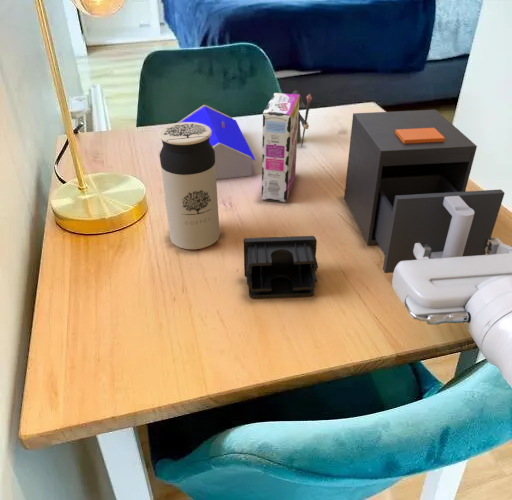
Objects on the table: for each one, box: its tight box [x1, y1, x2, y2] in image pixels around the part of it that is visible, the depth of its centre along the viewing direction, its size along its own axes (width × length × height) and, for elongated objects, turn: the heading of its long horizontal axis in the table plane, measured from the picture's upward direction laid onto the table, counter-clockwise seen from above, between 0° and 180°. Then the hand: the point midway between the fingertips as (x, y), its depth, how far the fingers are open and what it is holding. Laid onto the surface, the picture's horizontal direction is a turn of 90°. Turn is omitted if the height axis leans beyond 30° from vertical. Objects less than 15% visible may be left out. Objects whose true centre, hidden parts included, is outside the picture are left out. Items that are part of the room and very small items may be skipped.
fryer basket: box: [373, 174, 505, 274], centre depth 73 cm, size 20×14×12 cm
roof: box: [177, 104, 256, 180], centre depth 105 cm, size 22×14×7 cm, turn 12°
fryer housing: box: [343, 109, 478, 246], centre depth 82 cm, size 15×14×17 cm
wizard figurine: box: [291, 89, 313, 147], centre depth 110 cm, size 8×6×12 cm
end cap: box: [243, 235, 319, 299], centre depth 70 cm, size 10×7×7 cm
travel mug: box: [158, 122, 221, 250], centre depth 77 cm, size 8×8×18 cm
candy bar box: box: [261, 92, 301, 203], centre depth 91 cm, size 11×5×16 cm, turn 168°
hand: (454, 244), depth 66 cm, fingers open, 8 cm apart
